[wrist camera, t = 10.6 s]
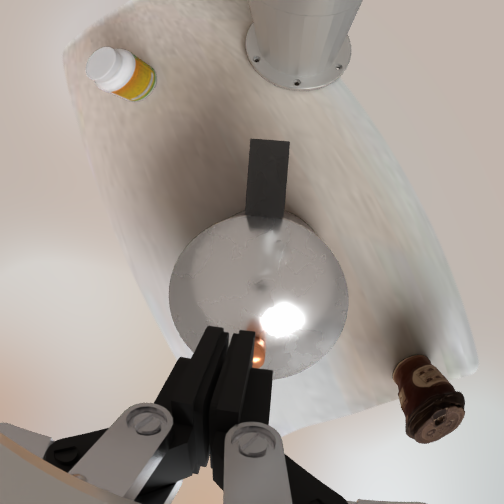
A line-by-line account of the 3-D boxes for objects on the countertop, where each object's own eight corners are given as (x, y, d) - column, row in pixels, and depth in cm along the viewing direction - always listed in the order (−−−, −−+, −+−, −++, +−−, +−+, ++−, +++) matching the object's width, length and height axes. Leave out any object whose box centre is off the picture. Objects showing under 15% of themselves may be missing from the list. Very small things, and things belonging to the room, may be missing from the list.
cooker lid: (328, 378, 28) (331, 398, 25) (176, 361, 30) (166, 378, 26) (366, 153, 23) (377, 151, 20) (177, 139, 24) (163, 134, 21)
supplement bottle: (163, 68, 32) (129, 41, 22) (149, 105, 33) (109, 88, 24) (130, 63, 32) (91, 39, 22) (116, 99, 33) (73, 83, 24)
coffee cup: (401, 342, 37) (435, 399, 25) (443, 348, 37) (481, 399, 24) (377, 388, 40) (399, 449, 27) (419, 392, 39) (445, 446, 27)
